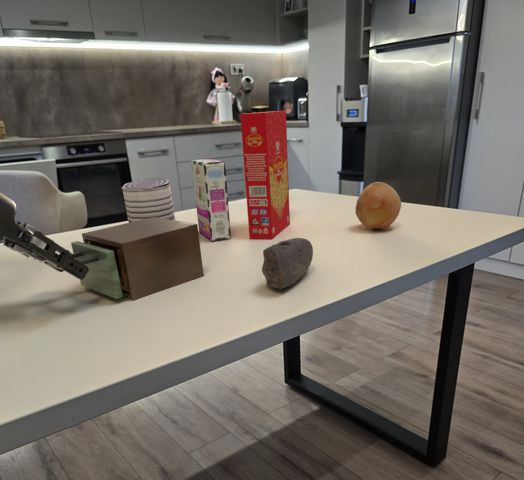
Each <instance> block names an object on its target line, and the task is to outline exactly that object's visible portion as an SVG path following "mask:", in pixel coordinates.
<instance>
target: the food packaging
mask: <svg viewBox="0 0 524 480" xmlns="http://www.w3.org/2000/svg"><path fill="white" fill-rule="evenodd" d="M239 116H240V128H241V129H240V130H241V142H242V157H243V168H244V182H245V195H246V210H247V211H246V212H247V223H248V237H249V238H248V239H249V240H273V239H274V238H276V236H278V235H279V234H280V233H281V232H283V231H284V230H285V229H286V228H287V227H289V225H291V216H290V215H291V213H290V188H289V186H290V185H289V160H288V159H289V157H288V132H287V130H288V129H287V127H288V126H287V110H272V111H260V112H249V113H240V114H239Z"/></svg>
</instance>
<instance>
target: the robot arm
mask: <svg viewBox="0 0 524 480" xmlns="http://www.w3.org/2000/svg"><path fill="white" fill-rule="evenodd" d="M17 212H18V211H17V205H16V202H15V200H12V199H11V198H10V197H8V196H6V195H5V194H4V193H2V192H0V242H2V245H3V247H6V248H7V249H9V250H12V251H13V252H16V253H18V254H20V255H22V256H24V257H26V258H30V257H31V258H32V259H33V260H34V261H38V262H40V263H44V264H45V265H47V266H49V267H50V268H52V269H54V270H55V271H57V272H59V273H63V272H66V273H68V274H70V275H71V276H73V277H75V278H76V279H78V280H80V279H81V280H82V279H84V278H85V276H86V274H87V272H88V271H89V268H88V267H87V266H86V265H84V264H83V263H81V262H79V261H78V260H76V259H75V258H73V257H71V254H73V252H71V251H70V250H69V249H66V248H64V247H63V246H61V245H60V244H58V243H57V242H55V240H54V239H52V238H50V237H48V236H46V235H45V234H43V232H41V231H40V230H37V229H36V228H35V227H34V226H32V225H31V224H28V223H26V222H22V221H19V220H16V215H17ZM53 257H54V258H57V259H56V260H55V259H54V258H53ZM46 261H47V262H49V263H51V264H53V265H55V267H56V268H55V267H52V266H50V265H48V264H47V263H46ZM58 268H60V269H63V270H64V271H63V270H60V269H58Z"/></svg>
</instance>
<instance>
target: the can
mask: <svg viewBox="0 0 524 480" xmlns="http://www.w3.org/2000/svg"><path fill="white" fill-rule="evenodd" d="M170 181H171V178H164V177H151V178H144V179H138V180H134V181H131V182H127V183H125V184H123V186H122V187H121V189H122V194H123V200H124V205H125V211H126V216H127V221H128V222H127V223H130V222H135V221H139V220H143V219H148V218H152V217H157V218H163V219H169V220H175V221H176V217H175V209H174V202H173V196H172V195H173V194H172V187H171V183H169V182H170Z"/></svg>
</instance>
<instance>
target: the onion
mask: <svg viewBox="0 0 524 480" xmlns="http://www.w3.org/2000/svg"><path fill="white" fill-rule="evenodd" d="M401 209H402V200H401V197H400V195H399V194H398V192H397V191H396V190H395V188H394V187H392V185H390V184H387V183H385V182H382V181H375V182H372V183H370V184H369V185H367V186H366V187H365V188H364V189H362V191H361V192H360V194H359V196H358V198H357V200H356V204H355V215H356V217H357V219H358V221H359V222H360V223H361V224H362V225H363V226H364V227H366V228H368V229H387V228H388V227H390V226H391V225H392V224H393V223H394V222H395V221H396V220H397V218H398V217H399V215H400V212H401Z"/></svg>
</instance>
